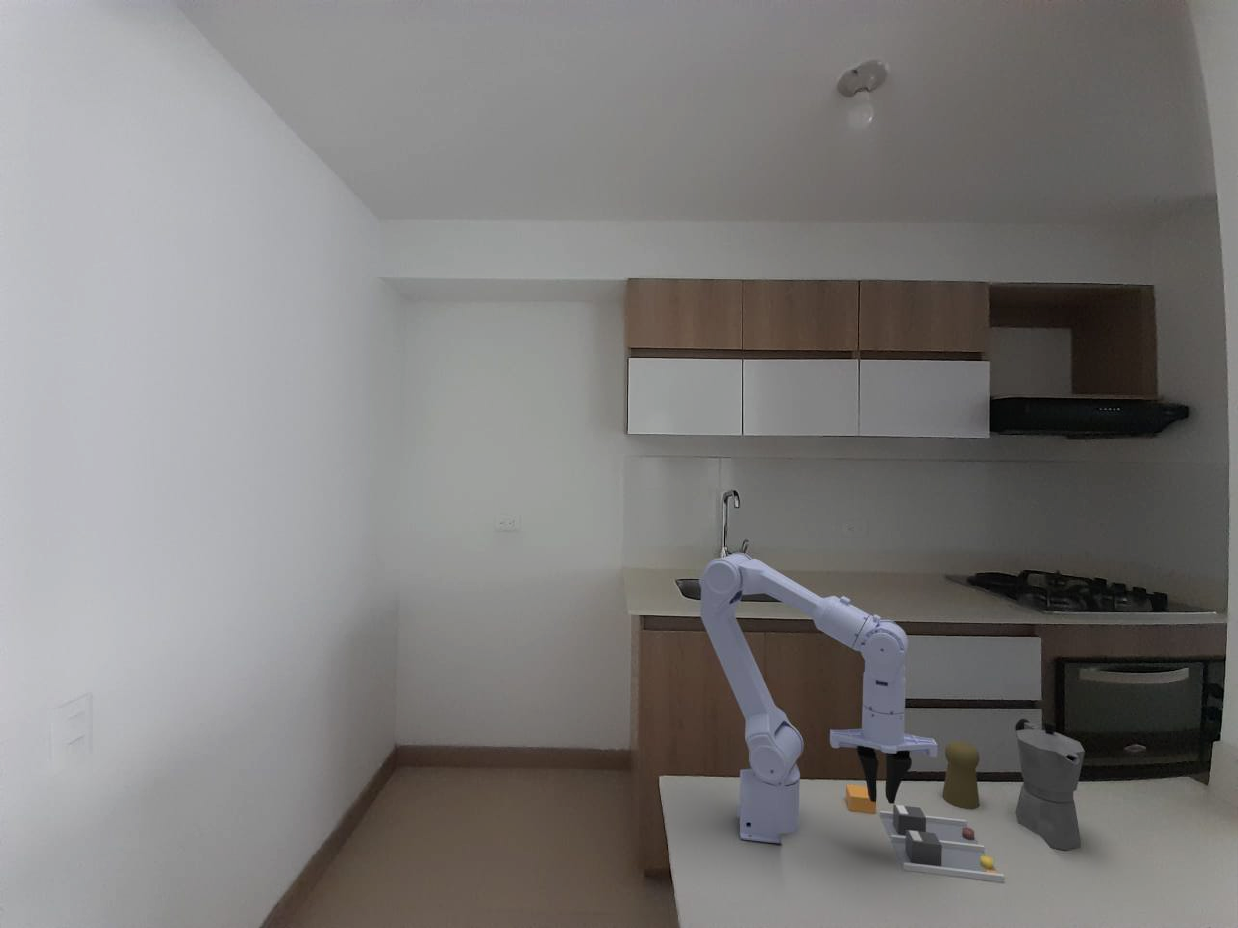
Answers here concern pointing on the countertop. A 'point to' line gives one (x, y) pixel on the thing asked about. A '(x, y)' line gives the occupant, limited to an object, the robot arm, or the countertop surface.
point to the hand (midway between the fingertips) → (880, 799)
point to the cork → (961, 776)
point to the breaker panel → (947, 850)
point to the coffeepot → (1049, 784)
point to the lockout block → (859, 799)
